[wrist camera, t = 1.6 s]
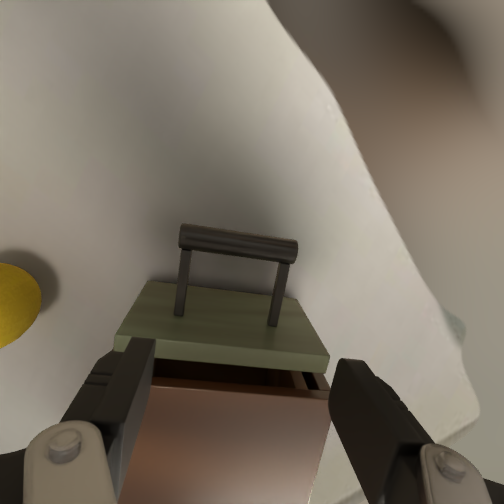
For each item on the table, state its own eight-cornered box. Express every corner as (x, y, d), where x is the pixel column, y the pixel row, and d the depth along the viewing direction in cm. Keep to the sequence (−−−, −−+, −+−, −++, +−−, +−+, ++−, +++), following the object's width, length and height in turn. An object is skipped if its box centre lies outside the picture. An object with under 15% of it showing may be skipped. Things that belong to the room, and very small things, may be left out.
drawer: (154, 205, 23) (122, 226, 16) (312, 230, 25) (355, 260, 17) (131, 444, 29) (97, 553, 21) (262, 452, 30) (279, 554, 22)
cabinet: (139, 300, 26) (93, 381, 16) (295, 318, 28) (337, 400, 18) (124, 465, 30) (79, 608, 20) (261, 471, 32) (280, 605, 22)
